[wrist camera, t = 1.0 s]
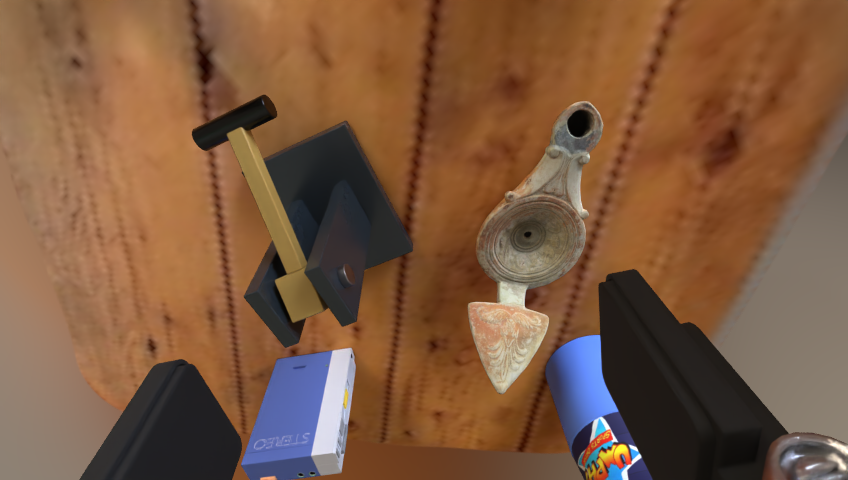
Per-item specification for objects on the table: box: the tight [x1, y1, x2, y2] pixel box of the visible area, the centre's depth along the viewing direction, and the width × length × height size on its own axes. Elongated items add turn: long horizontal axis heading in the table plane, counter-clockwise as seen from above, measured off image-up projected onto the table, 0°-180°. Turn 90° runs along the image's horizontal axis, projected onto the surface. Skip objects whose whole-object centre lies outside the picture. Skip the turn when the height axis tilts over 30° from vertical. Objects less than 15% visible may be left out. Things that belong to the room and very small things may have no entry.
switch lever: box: [192, 95, 329, 323], centre depth 28 cm, size 13×5×2 cm, turn 23°
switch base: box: [242, 121, 413, 348], centre depth 33 cm, size 12×9×13 cm
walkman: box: [241, 348, 356, 480], centre depth 42 cm, size 8×3×12 cm, turn 100°
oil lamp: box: [468, 101, 603, 394], centre depth 35 cm, size 9×21×10 cm, turn 165°
